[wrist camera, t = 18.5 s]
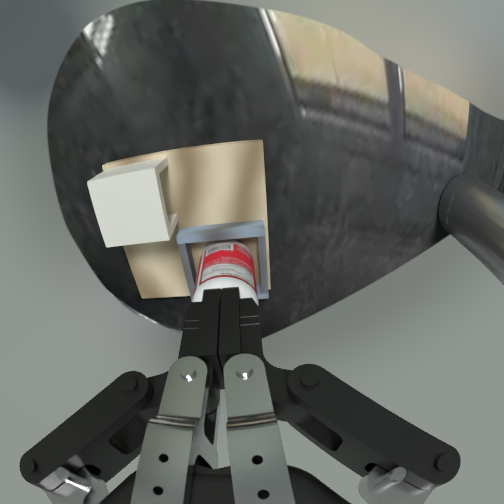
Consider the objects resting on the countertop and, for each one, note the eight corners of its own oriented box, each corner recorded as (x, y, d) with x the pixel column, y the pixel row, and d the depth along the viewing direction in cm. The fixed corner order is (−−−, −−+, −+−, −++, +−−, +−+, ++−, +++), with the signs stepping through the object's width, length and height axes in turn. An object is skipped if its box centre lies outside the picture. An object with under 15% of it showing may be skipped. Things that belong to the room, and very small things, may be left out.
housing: (166, 157, 25) (154, 167, 21) (178, 220, 29) (169, 240, 25) (106, 169, 25) (87, 181, 21) (121, 227, 29) (106, 247, 25)
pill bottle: (231, 289, 34) (231, 361, 25) (190, 263, 32) (174, 334, 22) (264, 256, 32) (276, 326, 22) (222, 225, 29) (216, 291, 20)
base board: (261, 139, 26) (265, 144, 23) (269, 283, 35) (272, 302, 32) (106, 163, 26) (91, 171, 23) (144, 292, 35) (137, 311, 32)
